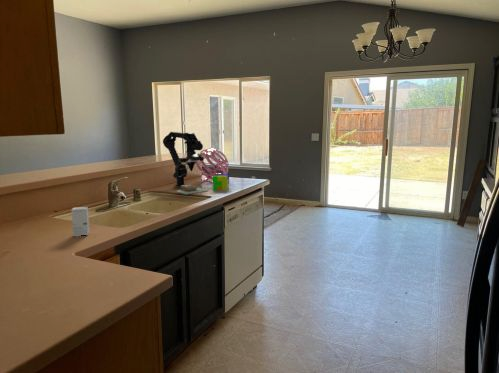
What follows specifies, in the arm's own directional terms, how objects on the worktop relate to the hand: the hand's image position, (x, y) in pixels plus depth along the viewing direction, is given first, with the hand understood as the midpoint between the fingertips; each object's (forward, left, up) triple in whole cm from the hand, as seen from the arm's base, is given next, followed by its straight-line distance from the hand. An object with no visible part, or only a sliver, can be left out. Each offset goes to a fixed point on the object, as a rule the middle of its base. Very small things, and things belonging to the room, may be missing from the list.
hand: (191, 171), depth 266 cm
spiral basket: (-10, +25, -12) cm, 30 cm away
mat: (+14, -8, -12) cm, 20 cm away
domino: (+6, -9, -10) cm, 15 cm away
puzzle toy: (+21, +12, -12) cm, 27 cm away
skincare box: (+70, -93, -12) cm, 117 cm away
